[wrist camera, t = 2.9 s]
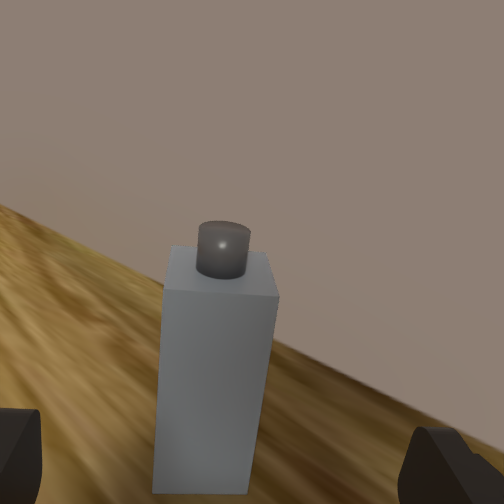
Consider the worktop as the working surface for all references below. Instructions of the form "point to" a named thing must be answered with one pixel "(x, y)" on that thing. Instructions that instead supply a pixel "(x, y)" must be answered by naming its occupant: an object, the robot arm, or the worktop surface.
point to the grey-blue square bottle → (212, 362)
